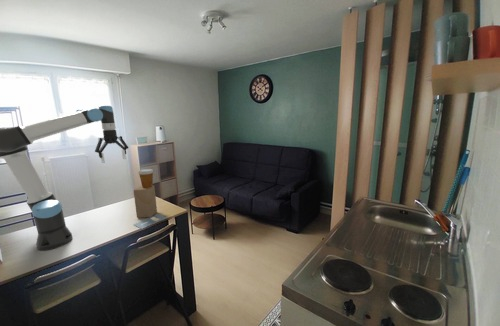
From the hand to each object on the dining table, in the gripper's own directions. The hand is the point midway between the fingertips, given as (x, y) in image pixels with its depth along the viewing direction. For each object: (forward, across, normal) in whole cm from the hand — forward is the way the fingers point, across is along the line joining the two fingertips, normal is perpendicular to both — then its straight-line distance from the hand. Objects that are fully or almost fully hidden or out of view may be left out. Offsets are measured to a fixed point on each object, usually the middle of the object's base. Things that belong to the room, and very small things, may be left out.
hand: (114, 160), depth 151 cm
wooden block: (+39, +8, -19) cm, 44 cm away
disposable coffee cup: (+19, +11, -19) cm, 29 cm away
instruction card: (+39, +4, -30) cm, 49 cm away
